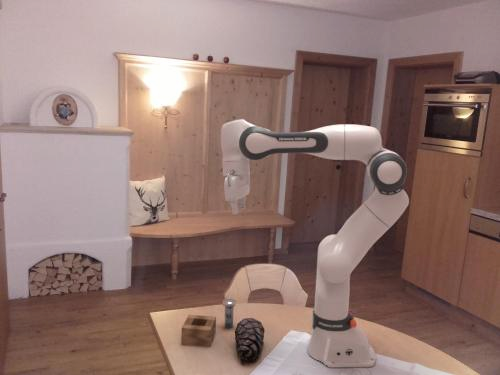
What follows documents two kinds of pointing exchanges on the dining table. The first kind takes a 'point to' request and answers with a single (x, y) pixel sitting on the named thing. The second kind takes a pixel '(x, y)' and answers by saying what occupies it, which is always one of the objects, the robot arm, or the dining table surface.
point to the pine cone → (249, 340)
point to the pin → (229, 312)
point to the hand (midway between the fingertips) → (238, 211)
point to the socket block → (199, 330)
